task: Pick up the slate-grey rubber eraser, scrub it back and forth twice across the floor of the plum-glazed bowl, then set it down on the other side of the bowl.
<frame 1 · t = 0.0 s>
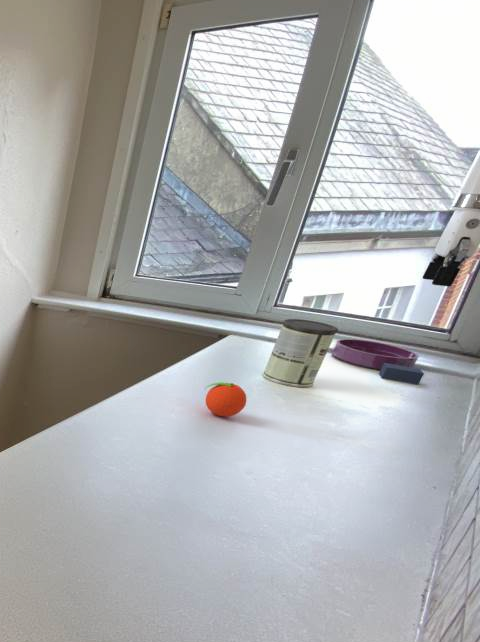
hand: (435, 282, 128), 24 cm above the counter, tool pointing down, fingers open, 9 cm apart
eraser: (397, 379, 140), on the counter
bowl: (369, 361, 153), on the counter
coffee can: (286, 380, 136), on the counter
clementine: (216, 415, 114), on the counter
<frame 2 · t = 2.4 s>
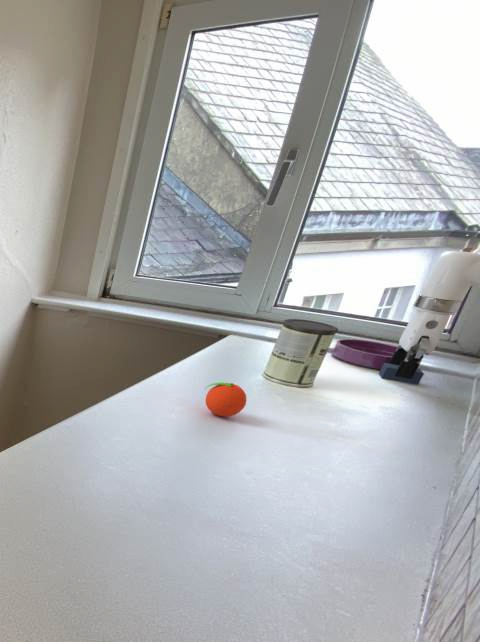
hand: (398, 372, 140), 2 cm above the counter, tool pointing down, fingers open, 8 cm apart
nothing on the counter moved.
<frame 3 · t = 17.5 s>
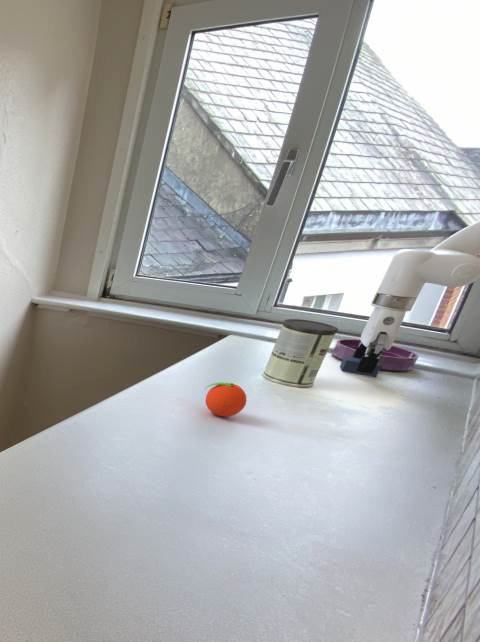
hand: (360, 367, 143), 1 cm above the counter, tool pointing down, fingers open, 9 cm apart
eraser: (357, 371, 144), on the counter
everything else where it was.
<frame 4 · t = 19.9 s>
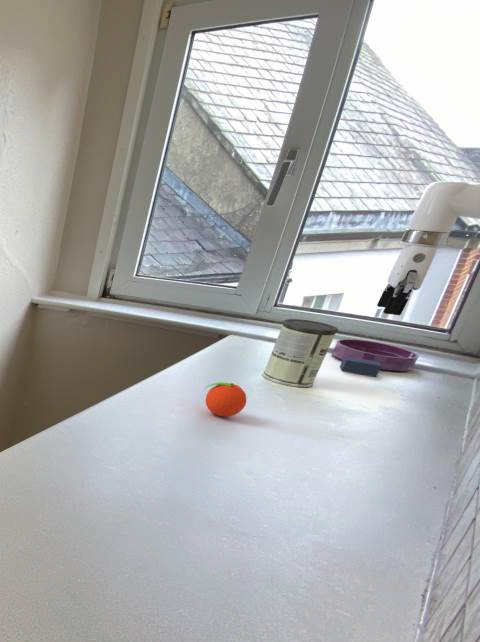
hand: (388, 310, 137), 16 cm above the counter, tool pointing down, fingers open, 9 cm apart
nothing on the counter moved.
at the end: eraser inside the target area (0.1 cm from its centre), on the counter; the gripper is holding nothing; eraser tilted 0° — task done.
